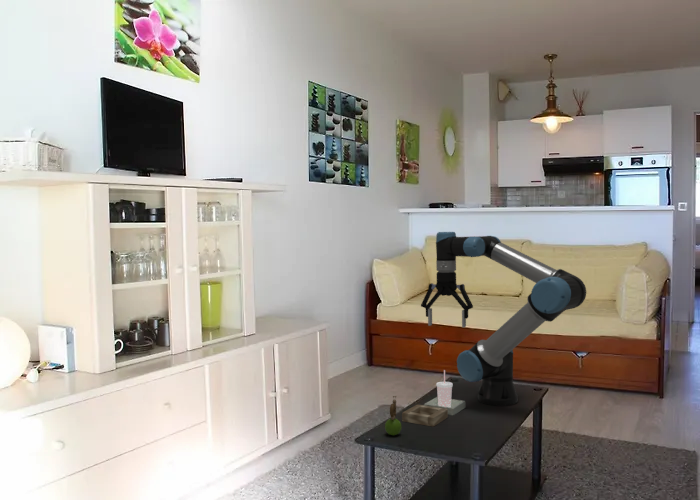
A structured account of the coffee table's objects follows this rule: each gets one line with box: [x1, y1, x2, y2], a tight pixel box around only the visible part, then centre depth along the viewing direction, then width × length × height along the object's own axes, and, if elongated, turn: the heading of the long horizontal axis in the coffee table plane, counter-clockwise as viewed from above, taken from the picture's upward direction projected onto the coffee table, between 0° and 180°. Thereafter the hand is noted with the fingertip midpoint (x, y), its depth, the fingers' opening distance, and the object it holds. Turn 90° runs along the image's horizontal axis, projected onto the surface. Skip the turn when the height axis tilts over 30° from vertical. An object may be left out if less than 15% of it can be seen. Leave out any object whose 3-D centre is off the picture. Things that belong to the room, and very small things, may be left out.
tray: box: [423, 396, 466, 416], centre depth 237 cm, size 12×12×2 cm
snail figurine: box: [384, 395, 402, 436], centre depth 209 cm, size 5×6×12 cm
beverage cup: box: [435, 369, 454, 407], centre depth 237 cm, size 6×6×14 cm
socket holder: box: [401, 404, 449, 427], centre depth 225 cm, size 12×12×3 cm
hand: (446, 326), depth 248 cm, fingers open, 13 cm apart
